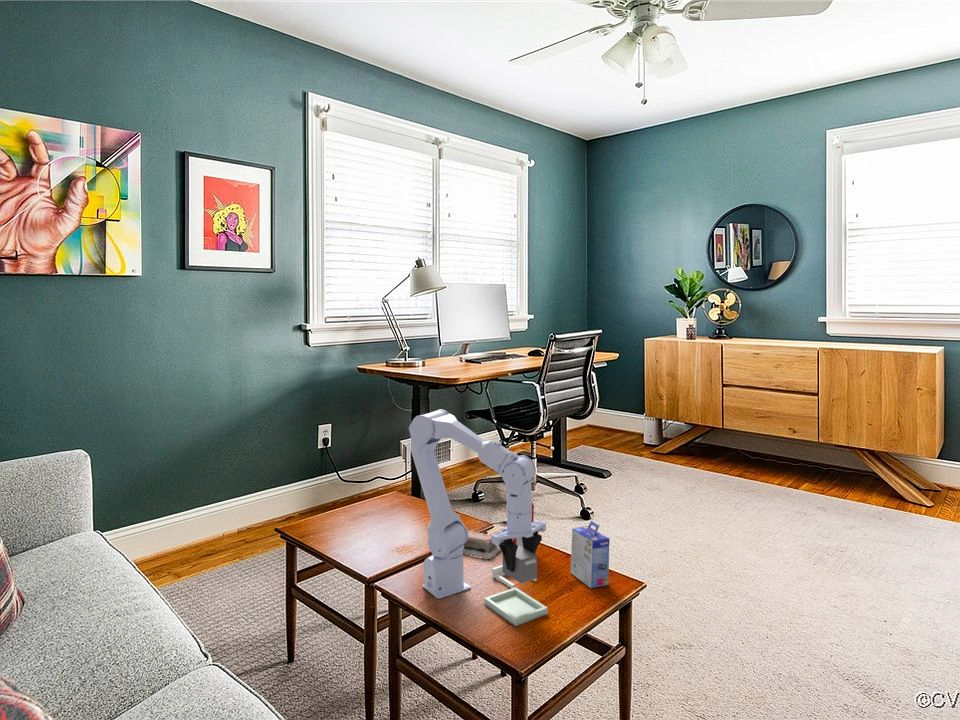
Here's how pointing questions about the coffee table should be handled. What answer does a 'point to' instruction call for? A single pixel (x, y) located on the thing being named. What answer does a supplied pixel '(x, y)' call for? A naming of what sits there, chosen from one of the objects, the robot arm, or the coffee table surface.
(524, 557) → the grey tabbed box
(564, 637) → the coffee table surface
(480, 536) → the packaged product
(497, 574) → the frame
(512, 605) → the tray
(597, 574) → the ink cartridge box
